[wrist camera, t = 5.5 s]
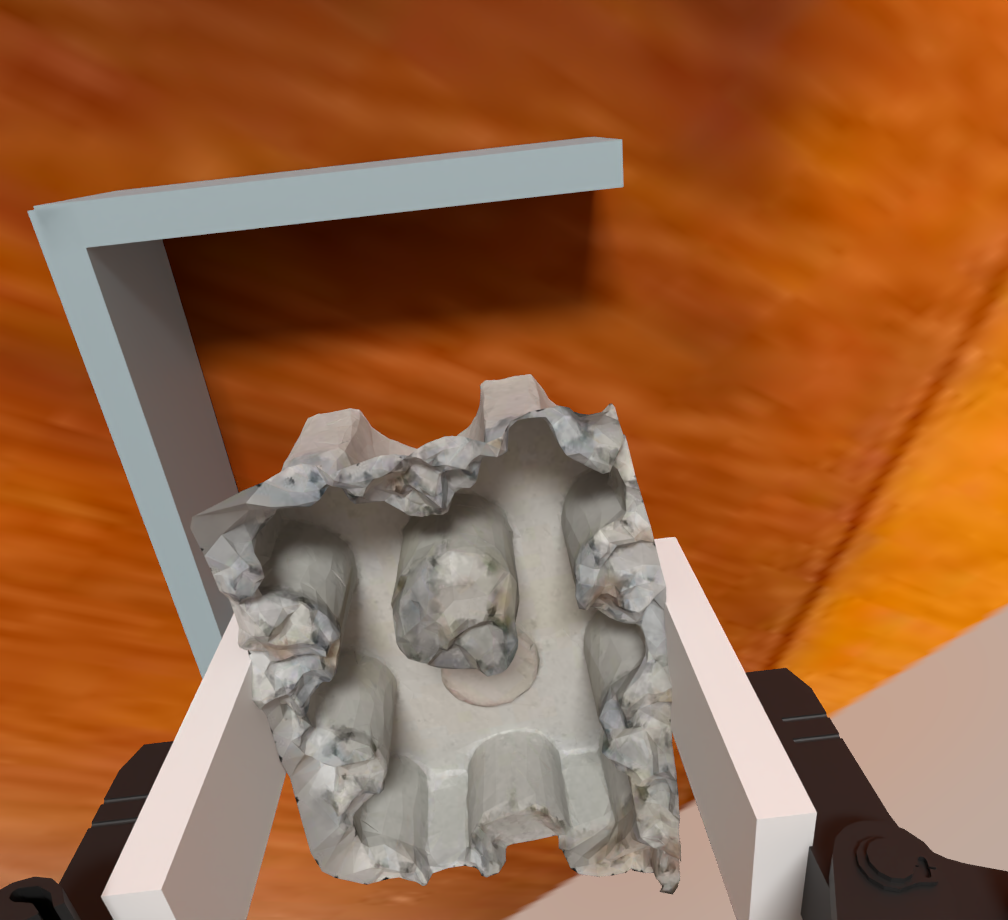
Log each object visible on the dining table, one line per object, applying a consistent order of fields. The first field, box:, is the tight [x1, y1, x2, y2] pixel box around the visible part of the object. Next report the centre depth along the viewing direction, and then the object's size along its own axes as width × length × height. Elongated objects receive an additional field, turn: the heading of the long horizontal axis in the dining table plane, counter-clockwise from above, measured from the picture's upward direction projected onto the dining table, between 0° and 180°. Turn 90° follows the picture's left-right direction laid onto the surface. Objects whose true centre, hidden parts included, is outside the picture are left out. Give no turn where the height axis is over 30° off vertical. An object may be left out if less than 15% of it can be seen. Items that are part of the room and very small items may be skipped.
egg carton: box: [190, 374, 681, 894], centre depth 14 cm, size 11×8×4 cm
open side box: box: [28, 137, 623, 678], centre depth 25 cm, size 16×17×5 cm
